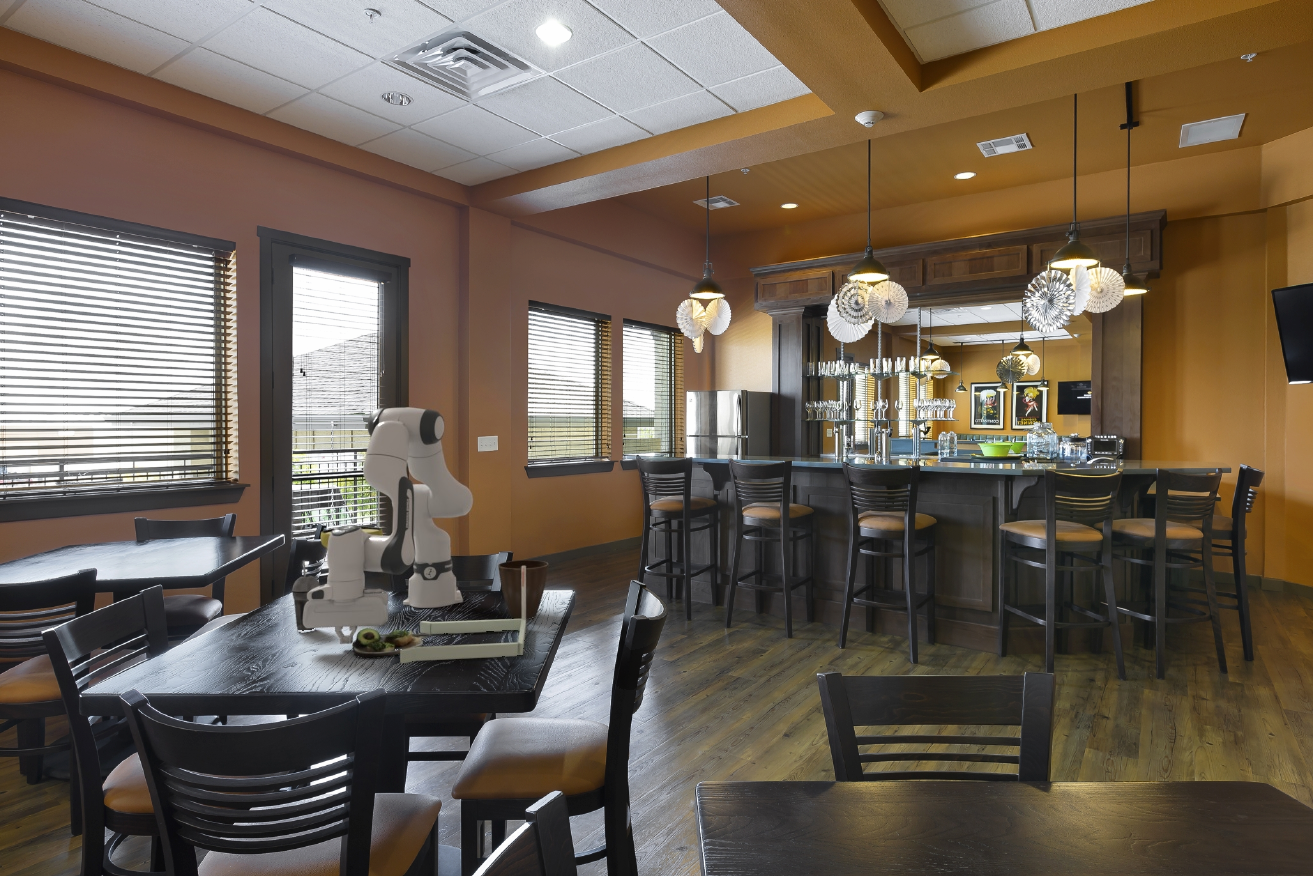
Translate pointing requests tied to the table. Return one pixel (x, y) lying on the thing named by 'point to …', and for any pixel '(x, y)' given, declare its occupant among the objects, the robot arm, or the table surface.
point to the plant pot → (513, 585)
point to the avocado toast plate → (385, 642)
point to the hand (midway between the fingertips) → (346, 643)
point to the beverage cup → (302, 596)
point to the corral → (469, 627)
